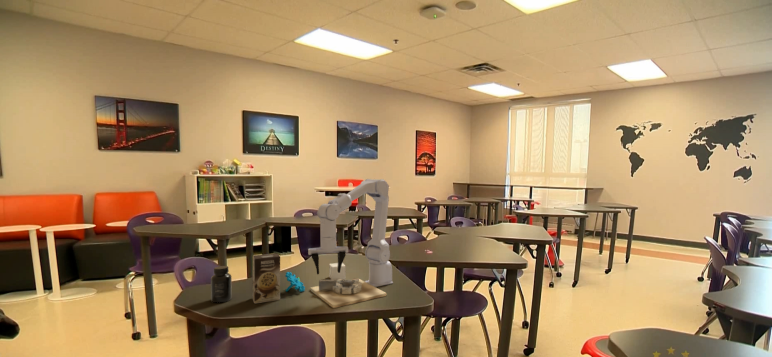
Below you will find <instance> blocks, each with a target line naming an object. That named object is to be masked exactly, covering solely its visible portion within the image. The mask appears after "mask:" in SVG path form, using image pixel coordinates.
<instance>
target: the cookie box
mask: <svg viewBox="0 0 772 357" xmlns="http://www.w3.org/2000/svg"><path fill="white" fill-rule="evenodd" d="M280 299H281V255H280V254H278V253H276V252H275V253H268V254H267V253H266V254H257V255H256V254H255V255H254V254H253V255H252V301H253V303H254V304H261V303H267V302H274V301H279V300H280Z"/></svg>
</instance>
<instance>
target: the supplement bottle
mask: <svg viewBox="0 0 772 357" xmlns="http://www.w3.org/2000/svg"><path fill="white" fill-rule="evenodd" d="M232 281H233V280H232V275H231V273H229V266H227V265H221V266H219V265H218V266H216V267H214V268H213V275H212V276H211V277H210V299H211V300H210V301H211V302H212V301H213V302H217V303H216V304H221V303H220V302H223V303H227V302H229V301H230V300H231V299H232V295H233V294H232V293H233V292H232V289H233V288H232V283H233V282H232ZM226 301H227V302H226ZM213 302H212V303H213ZM218 302H219V303H218Z"/></svg>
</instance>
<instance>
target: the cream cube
mask: <svg viewBox="0 0 772 357" xmlns="http://www.w3.org/2000/svg"><path fill="white" fill-rule="evenodd" d="M337 268H338V262H335V263H329V270H328V272H329V273H328V274H329V278H330V279H329V280H336V281H337V280H338V279H342V280H343V281H344V280H347V279H346V278H347V276H346V275H347V274H346V273H347V272H346V271H347V270H346V265H345V263H343V262H342V265H341V269H340V273H338V269H337Z"/></svg>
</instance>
